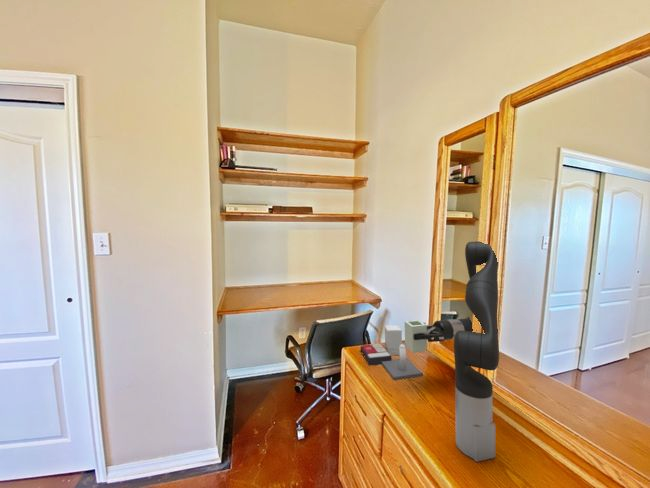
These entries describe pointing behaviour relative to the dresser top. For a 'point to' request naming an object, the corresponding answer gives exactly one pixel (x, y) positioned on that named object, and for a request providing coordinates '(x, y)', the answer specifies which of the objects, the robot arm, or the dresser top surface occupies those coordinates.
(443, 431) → the dresser top surface
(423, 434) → the dresser top surface
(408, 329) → the sleeve
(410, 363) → the post stand
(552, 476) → the dresser top surface
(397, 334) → the supplement box
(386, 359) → the dark gray paneled box
